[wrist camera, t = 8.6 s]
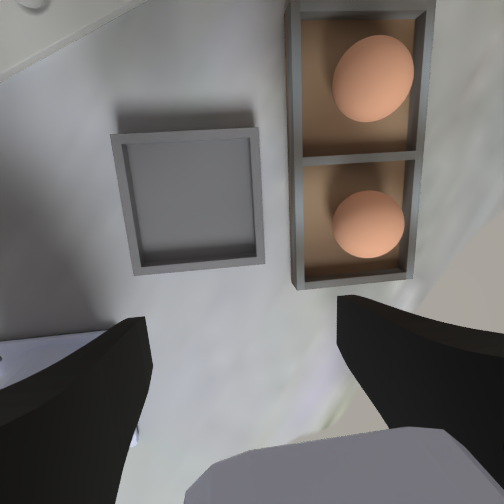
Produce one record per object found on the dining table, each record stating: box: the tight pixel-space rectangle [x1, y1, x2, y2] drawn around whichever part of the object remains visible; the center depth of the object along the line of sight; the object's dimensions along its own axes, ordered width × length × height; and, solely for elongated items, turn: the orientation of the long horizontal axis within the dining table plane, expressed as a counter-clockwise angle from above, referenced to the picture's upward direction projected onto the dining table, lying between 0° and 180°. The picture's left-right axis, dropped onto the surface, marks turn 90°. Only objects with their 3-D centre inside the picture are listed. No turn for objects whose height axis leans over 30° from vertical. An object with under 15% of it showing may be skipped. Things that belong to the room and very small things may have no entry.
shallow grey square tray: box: [110, 127, 265, 276], centre depth 18 cm, size 8×8×2 cm
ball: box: [332, 35, 414, 122], centre depth 16 cm, size 4×4×4 cm
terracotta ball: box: [332, 190, 404, 258], centre depth 18 cm, size 4×4×4 cm
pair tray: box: [284, 0, 436, 290], centre depth 19 cm, size 16×8×2 cm, turn 3°
